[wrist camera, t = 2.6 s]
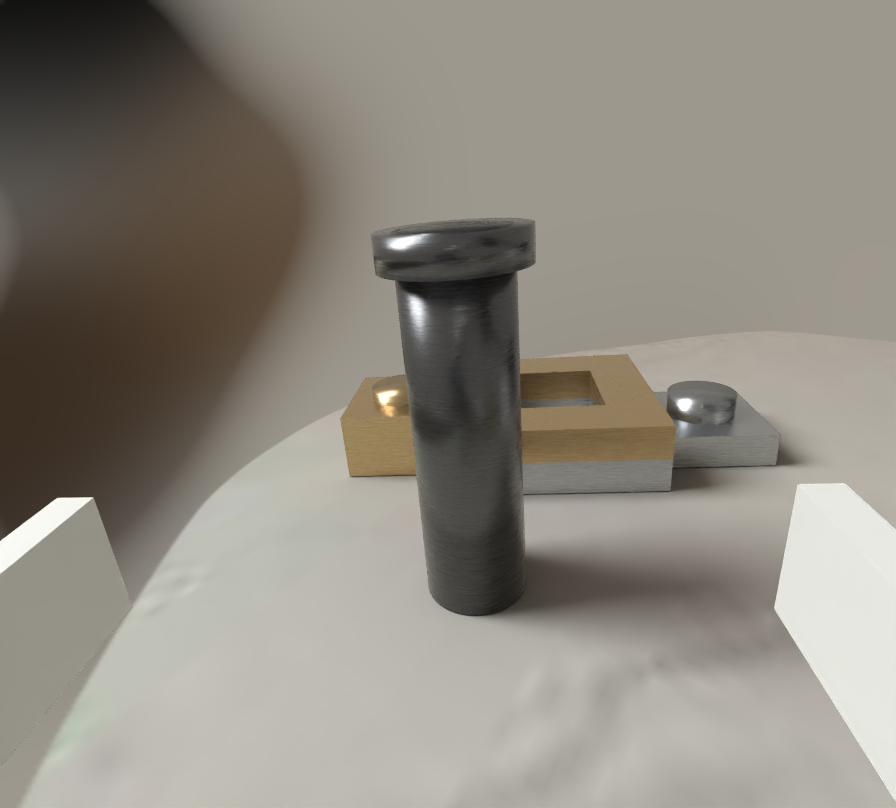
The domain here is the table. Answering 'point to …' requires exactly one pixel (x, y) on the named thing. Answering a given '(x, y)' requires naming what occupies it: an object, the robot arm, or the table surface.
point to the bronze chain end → (527, 417)
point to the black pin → (464, 399)
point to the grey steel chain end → (696, 445)
